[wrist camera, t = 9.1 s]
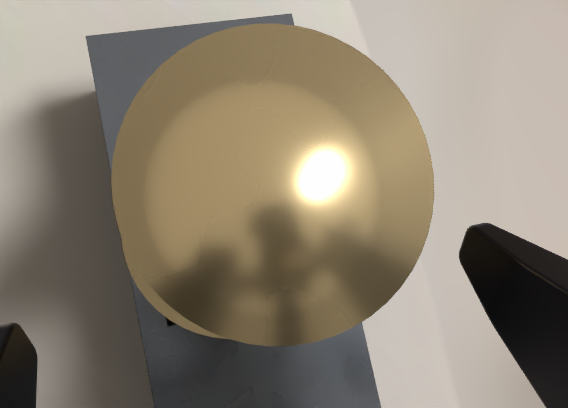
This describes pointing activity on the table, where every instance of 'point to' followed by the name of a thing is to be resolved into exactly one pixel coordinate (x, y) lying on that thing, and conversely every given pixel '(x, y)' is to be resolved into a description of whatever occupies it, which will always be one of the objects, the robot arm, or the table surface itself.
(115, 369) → the table surface
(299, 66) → the brass pin
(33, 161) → the table surface
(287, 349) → the steel hitch block
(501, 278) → the robot arm
